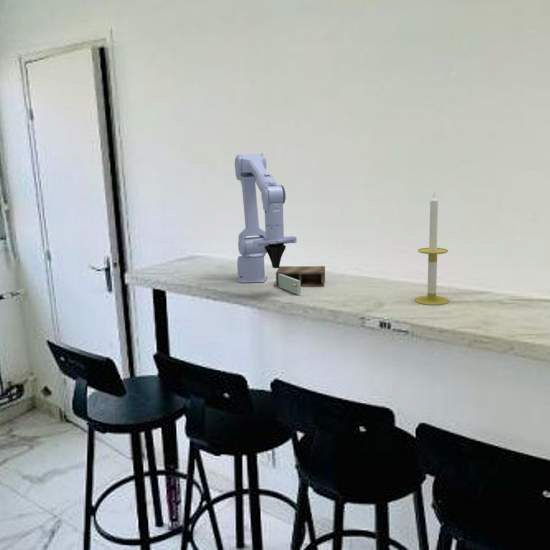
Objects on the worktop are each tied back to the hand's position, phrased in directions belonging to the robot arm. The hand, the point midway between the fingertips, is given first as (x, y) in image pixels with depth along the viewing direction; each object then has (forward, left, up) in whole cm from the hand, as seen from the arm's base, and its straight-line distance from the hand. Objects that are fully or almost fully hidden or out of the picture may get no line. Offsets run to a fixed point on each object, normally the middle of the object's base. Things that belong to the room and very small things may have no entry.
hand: (275, 267), depth 190 cm
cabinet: (+6, +17, -9) cm, 20 cm away
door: (+3, +5, -9) cm, 11 cm away
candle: (+47, -6, -9) cm, 49 cm away
